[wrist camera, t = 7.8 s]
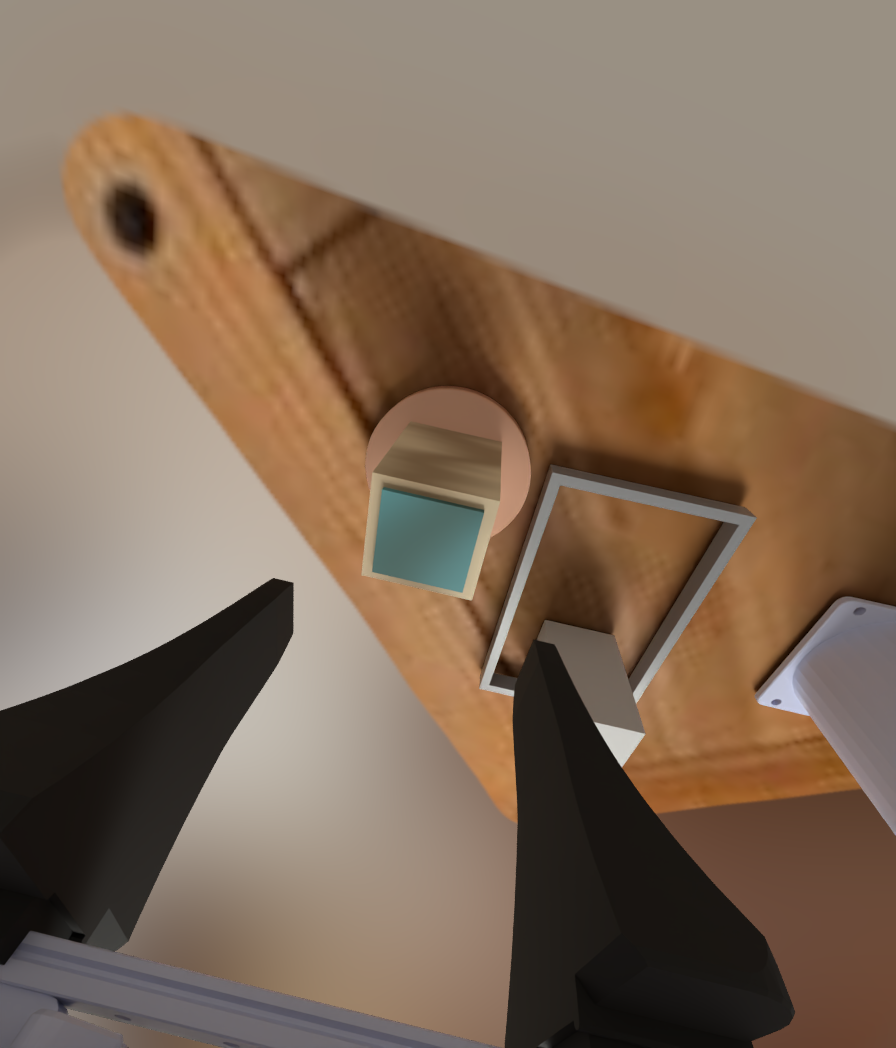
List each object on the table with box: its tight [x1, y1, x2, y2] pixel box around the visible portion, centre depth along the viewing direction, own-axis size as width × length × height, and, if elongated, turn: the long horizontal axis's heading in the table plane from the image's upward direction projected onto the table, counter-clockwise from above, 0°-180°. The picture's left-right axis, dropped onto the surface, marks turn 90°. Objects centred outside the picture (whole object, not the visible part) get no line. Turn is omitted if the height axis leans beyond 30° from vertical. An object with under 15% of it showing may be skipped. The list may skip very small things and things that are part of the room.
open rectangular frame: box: [479, 464, 757, 703], centre depth 22 cm, size 9×14×1 cm, turn 170°
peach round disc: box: [365, 386, 531, 537], centre depth 19 cm, size 8×8×1 cm
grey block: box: [537, 620, 645, 767], centre depth 22 cm, size 4×4×6 cm
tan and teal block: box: [362, 421, 502, 601], centre depth 16 cm, size 4×4×6 cm
